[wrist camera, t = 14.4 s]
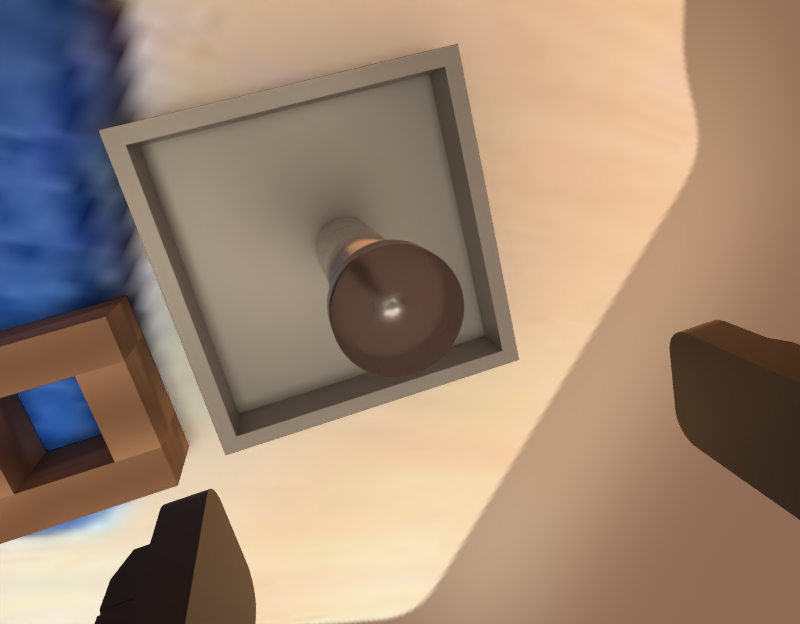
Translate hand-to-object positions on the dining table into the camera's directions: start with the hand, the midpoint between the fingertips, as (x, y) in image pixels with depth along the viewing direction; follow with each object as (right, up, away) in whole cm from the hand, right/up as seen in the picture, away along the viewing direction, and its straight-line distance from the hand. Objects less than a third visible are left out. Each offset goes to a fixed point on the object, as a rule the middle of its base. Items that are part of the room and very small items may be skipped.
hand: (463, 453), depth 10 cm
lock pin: (-4, +6, +20) cm, 22 cm away
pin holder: (-18, -2, +20) cm, 27 cm away
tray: (-5, +6, +21) cm, 22 cm away
